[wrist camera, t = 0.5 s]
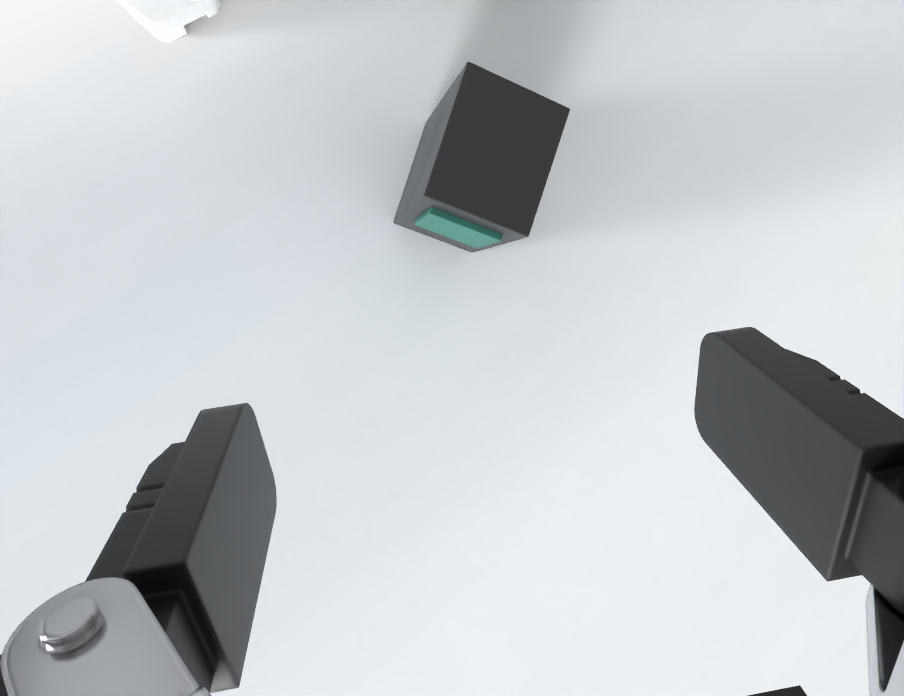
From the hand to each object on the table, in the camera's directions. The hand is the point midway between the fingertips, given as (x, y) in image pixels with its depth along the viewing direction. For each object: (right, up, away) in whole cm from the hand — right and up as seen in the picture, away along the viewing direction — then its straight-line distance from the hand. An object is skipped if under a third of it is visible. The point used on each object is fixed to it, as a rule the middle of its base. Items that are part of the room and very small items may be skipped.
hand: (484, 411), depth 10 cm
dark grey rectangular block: (-1, +10, +24) cm, 26 cm away
